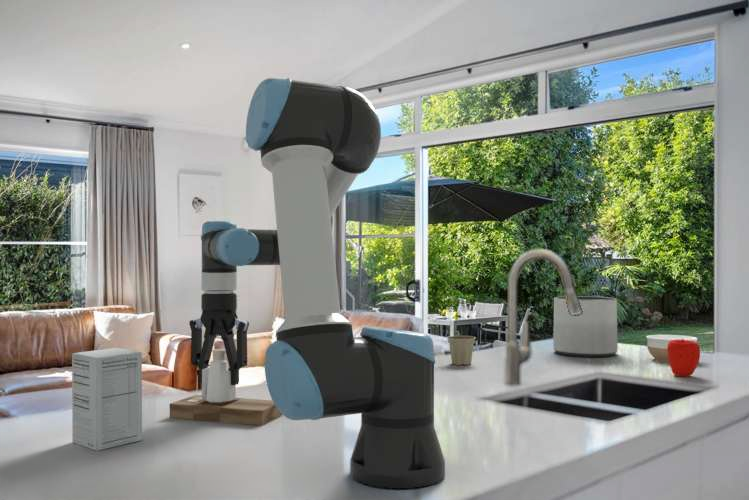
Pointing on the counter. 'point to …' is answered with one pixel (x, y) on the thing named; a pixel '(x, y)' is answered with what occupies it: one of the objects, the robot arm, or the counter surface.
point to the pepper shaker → (217, 377)
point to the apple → (683, 357)
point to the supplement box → (106, 398)
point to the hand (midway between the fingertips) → (218, 398)
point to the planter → (586, 327)
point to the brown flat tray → (225, 410)
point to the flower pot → (461, 349)
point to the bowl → (663, 345)
